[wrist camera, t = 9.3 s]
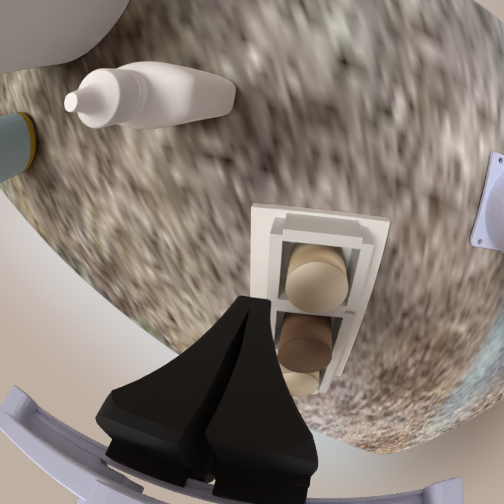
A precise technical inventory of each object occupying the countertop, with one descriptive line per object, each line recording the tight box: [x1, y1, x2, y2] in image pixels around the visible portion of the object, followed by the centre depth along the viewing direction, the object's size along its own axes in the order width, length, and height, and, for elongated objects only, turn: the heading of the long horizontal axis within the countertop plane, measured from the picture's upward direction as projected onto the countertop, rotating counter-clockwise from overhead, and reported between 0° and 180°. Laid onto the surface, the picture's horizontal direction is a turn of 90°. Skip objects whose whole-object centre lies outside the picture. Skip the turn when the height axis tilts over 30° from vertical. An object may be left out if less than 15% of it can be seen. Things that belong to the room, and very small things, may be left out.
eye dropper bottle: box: [64, 61, 236, 129], centre depth 12 cm, size 4×6×12 cm
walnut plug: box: [277, 312, 332, 373], centre depth 21 cm, size 4×4×4 cm
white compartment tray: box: [250, 203, 390, 394], centre depth 23 cm, size 10×18×4 cm, turn 0°
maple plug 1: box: [285, 242, 348, 313], centre depth 19 cm, size 4×4×4 cm
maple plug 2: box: [279, 363, 319, 396], centre depth 24 cm, size 4×4×4 cm
